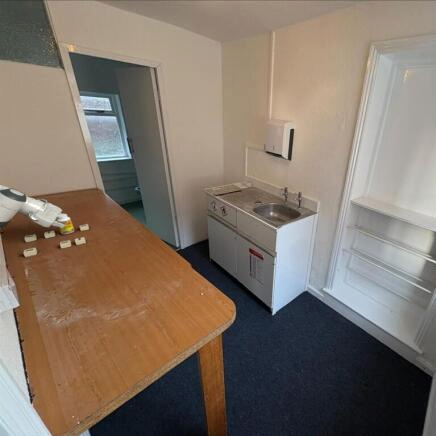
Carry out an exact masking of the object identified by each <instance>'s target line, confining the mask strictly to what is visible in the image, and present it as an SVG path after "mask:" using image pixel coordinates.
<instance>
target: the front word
mask: <svg viewBox="0 0 436 436" xmlns="http://www.w3.org/2000/svg"><path fill="white" fill-rule="evenodd" d="M74 243H75V245H76V246H79V245H83V244H86V243H87V241H86V238H85V236H83V237H82V236H81V237H78V238H75V239H74ZM59 246H60V249H66V248H70V247H72V242H71V240H70V239H69V240H63V241H60V242H59ZM37 254H38V250H37V247H32V248H27V249H24V250H23V255H24V257H25V258H28V257H32V256H36V255H37Z"/></svg>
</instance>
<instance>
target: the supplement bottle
mask: <svg viewBox="0 0 436 436" xmlns="http://www.w3.org/2000/svg"><path fill="white" fill-rule="evenodd" d="M55 221H57V222H58V223H63V224H65V226H64V227H63V228H61V227H58V228H59V232H60V233H61V235H62V234H67V235H70V234H69V233H71V234H73V233H72V232H74V230H75V228H74V224H73V222H72V219H71V217H70V216H68V214H67V213H62V214H60V215H57V218H56V220H55Z"/></svg>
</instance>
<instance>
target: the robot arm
mask: <svg viewBox="0 0 436 436" xmlns="http://www.w3.org/2000/svg"><path fill="white" fill-rule="evenodd" d="M62 212H63V209H61V208H60V207H59V206H57V205H55V204H52V203H51V202H48V200H46V199H35V198H34V197H29V196H27V195H26V194H25V193H24V192H22V191H20V190H18V189H16V188H12V187H8V186H5V185H2V184H0V229H1V228H5V227H7V226H8V224H9V223H10V222H11V220H12V219H13V218H14V217H15V216H16V214H17V213H18V214H20V215H23V216H25V217H27V218H29V219H30V221H31V222H33V223H35V224H37V225H39V226H41V227H44V228H50V227H51V226H53V227H58V228H59V227H61V228H63V227H64V226H65V224H63V223H58V222H57V221H56V220H57V215H60V214H63V213H62Z"/></svg>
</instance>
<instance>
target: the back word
mask: <svg viewBox="0 0 436 436" xmlns="http://www.w3.org/2000/svg"><path fill="white" fill-rule="evenodd" d="M79 230H80V231H81V232H82V231H87V230H88V231H89V230H90V227H89V224H88V223H85V224H81V225H79ZM75 233H76V232H75V229H74V232H72V233H69V234H62V233H61V236H66V235H71V234H75ZM43 235H44V238H45V239H48V238H49V239H50V238H54V237H56V232H55V230H50V231H45V232H44V234H43ZM24 241H25V243H30V242H34V241H37V235H36V234H30V235H25V236H24Z"/></svg>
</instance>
